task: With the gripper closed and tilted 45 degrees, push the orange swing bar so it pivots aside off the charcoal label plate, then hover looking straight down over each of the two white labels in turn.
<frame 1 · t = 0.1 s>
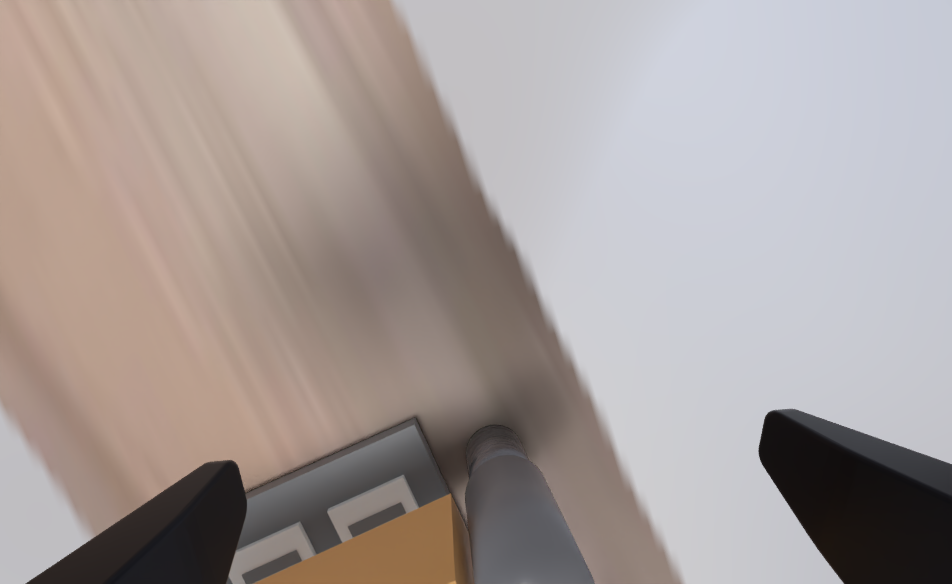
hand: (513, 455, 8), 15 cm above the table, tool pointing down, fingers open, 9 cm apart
grey grooved cylinder: (494, 452, 24), on the table
label plate: (331, 527, 23), on the table
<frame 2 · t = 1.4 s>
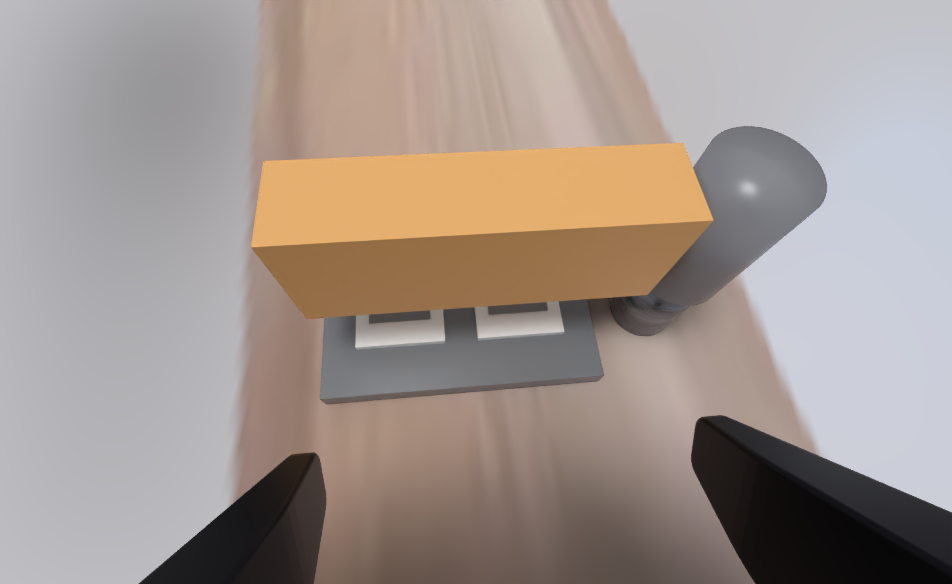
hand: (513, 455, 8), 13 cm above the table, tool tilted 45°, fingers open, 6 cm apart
grey grooved cylinder: (639, 308, 23), on the table
label plate: (459, 321, 22), on the table
swing bar: (535, 237, 16), point 7 cm above the table, hinge at 0.0°
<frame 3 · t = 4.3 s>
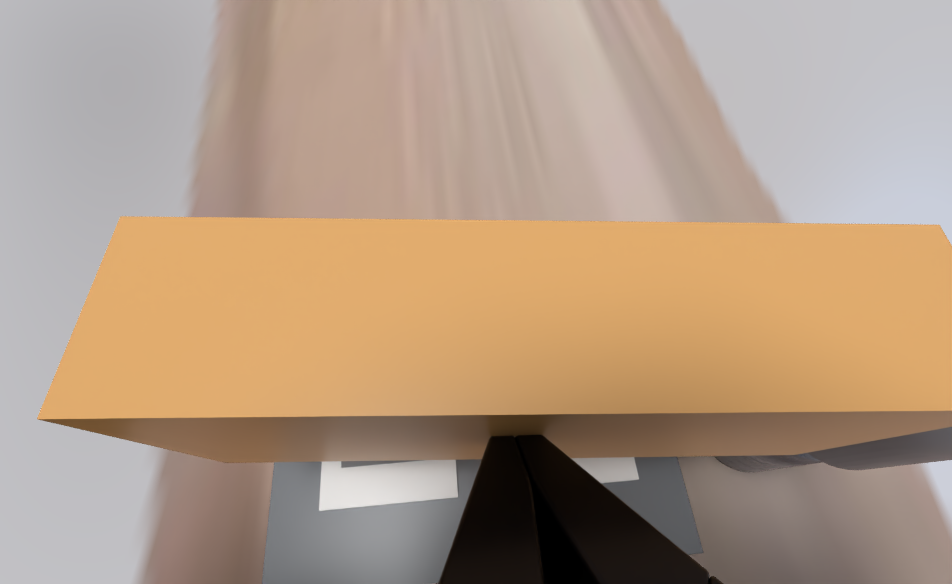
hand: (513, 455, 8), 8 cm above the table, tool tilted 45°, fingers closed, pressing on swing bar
grey grooved cylinder: (738, 426, 16), on the table
label plate: (477, 450, 15), on the table
swing bar: (623, 364, 9), point 7 cm above the table, hinge at 4.3°, touching gripper
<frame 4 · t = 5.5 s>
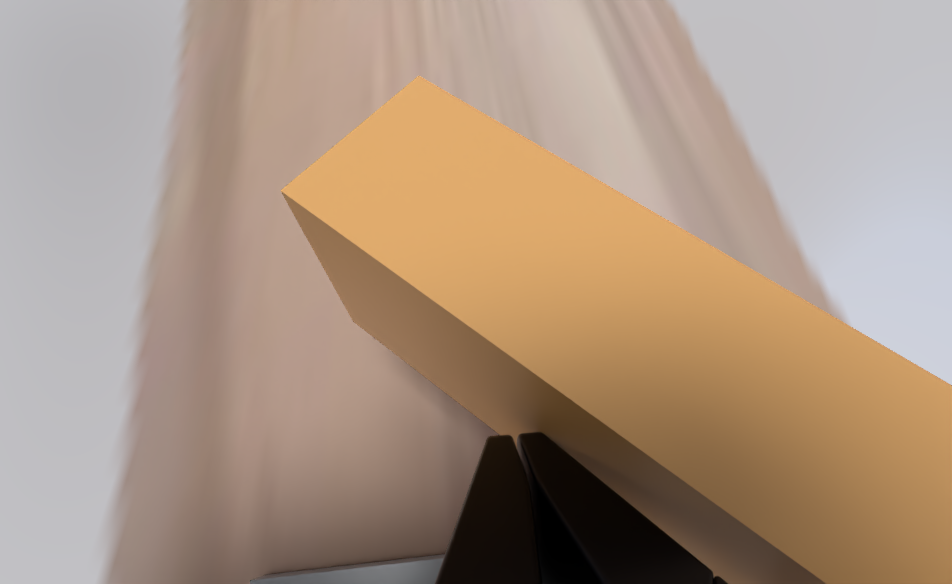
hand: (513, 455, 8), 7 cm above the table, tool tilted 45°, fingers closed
swing bar: (765, 494, 7), point 7 cm above the table, hinge at 42.3°, touching gripper
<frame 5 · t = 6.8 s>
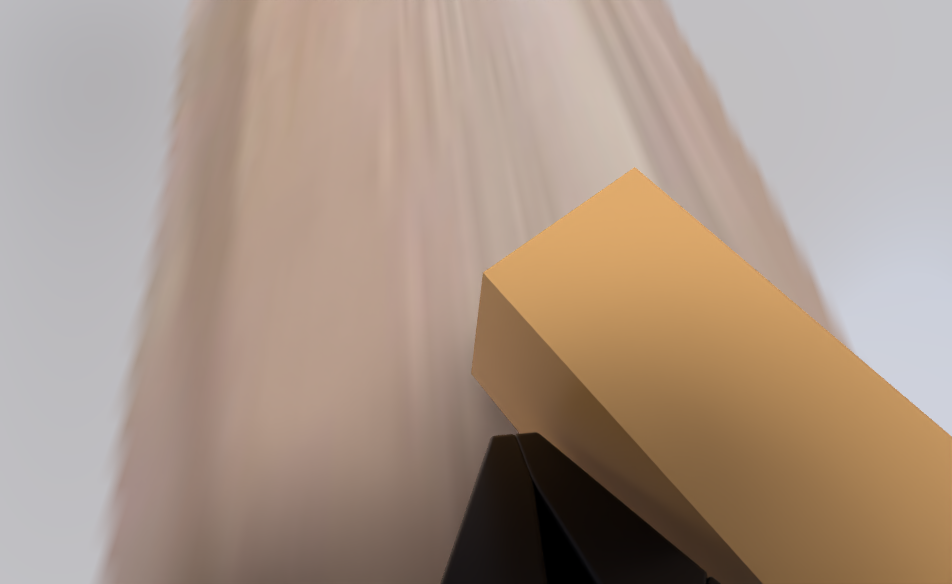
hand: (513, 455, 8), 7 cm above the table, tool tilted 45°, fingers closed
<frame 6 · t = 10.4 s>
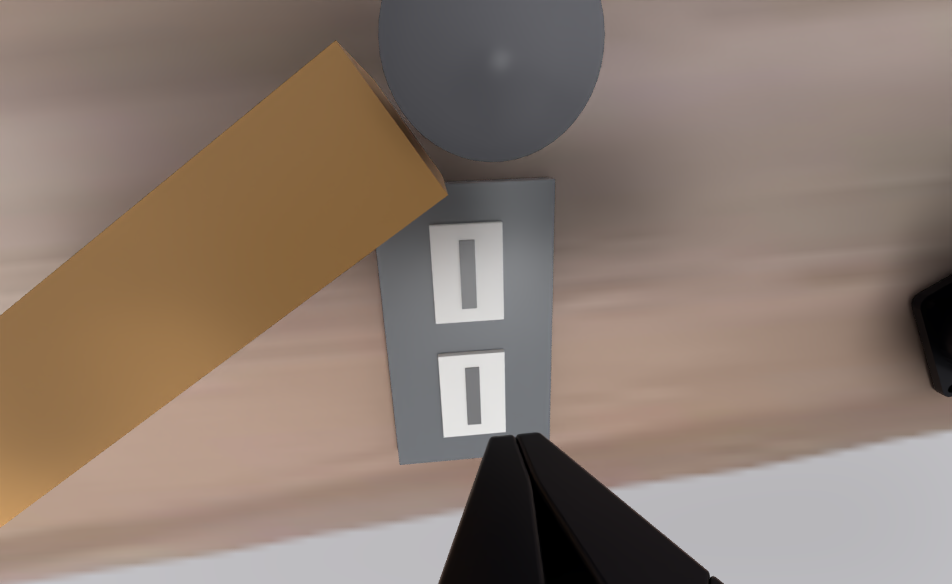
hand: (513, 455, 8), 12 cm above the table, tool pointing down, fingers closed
label plate: (468, 326, 20), on the table
swing bar: (251, 245, 11), point 7 cm above the table, hinge at 56.6°
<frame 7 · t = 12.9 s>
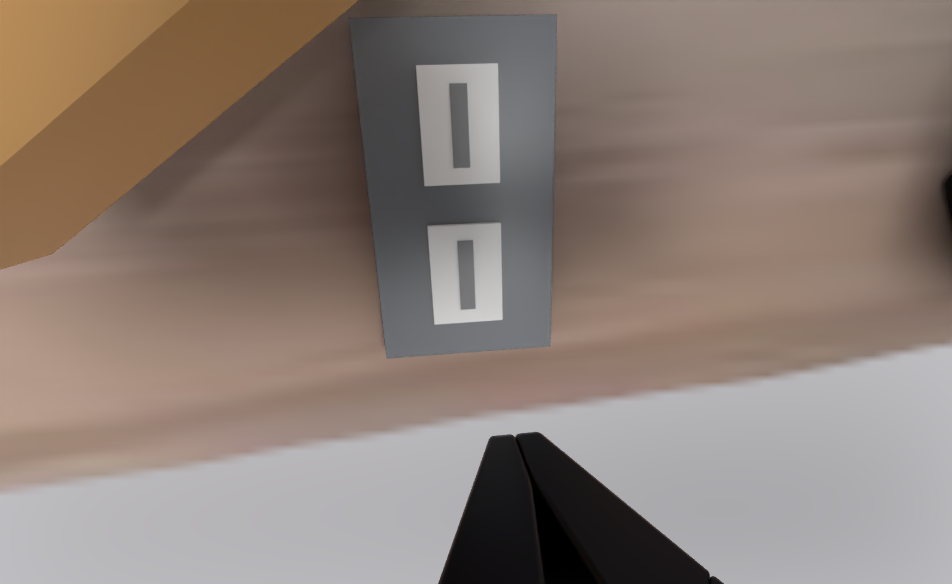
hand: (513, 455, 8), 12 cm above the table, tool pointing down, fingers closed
label plate: (461, 200, 18), on the table
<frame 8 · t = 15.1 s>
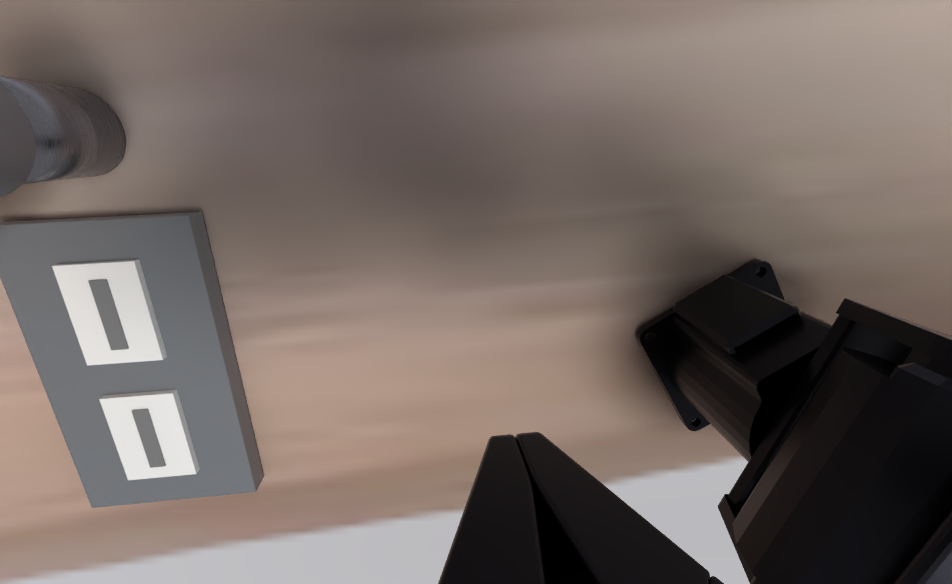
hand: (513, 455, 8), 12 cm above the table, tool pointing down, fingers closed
grey grooved cylinder: (79, 132, 16), on the table
label plate: (150, 364, 19), on the table
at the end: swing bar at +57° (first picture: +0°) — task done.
